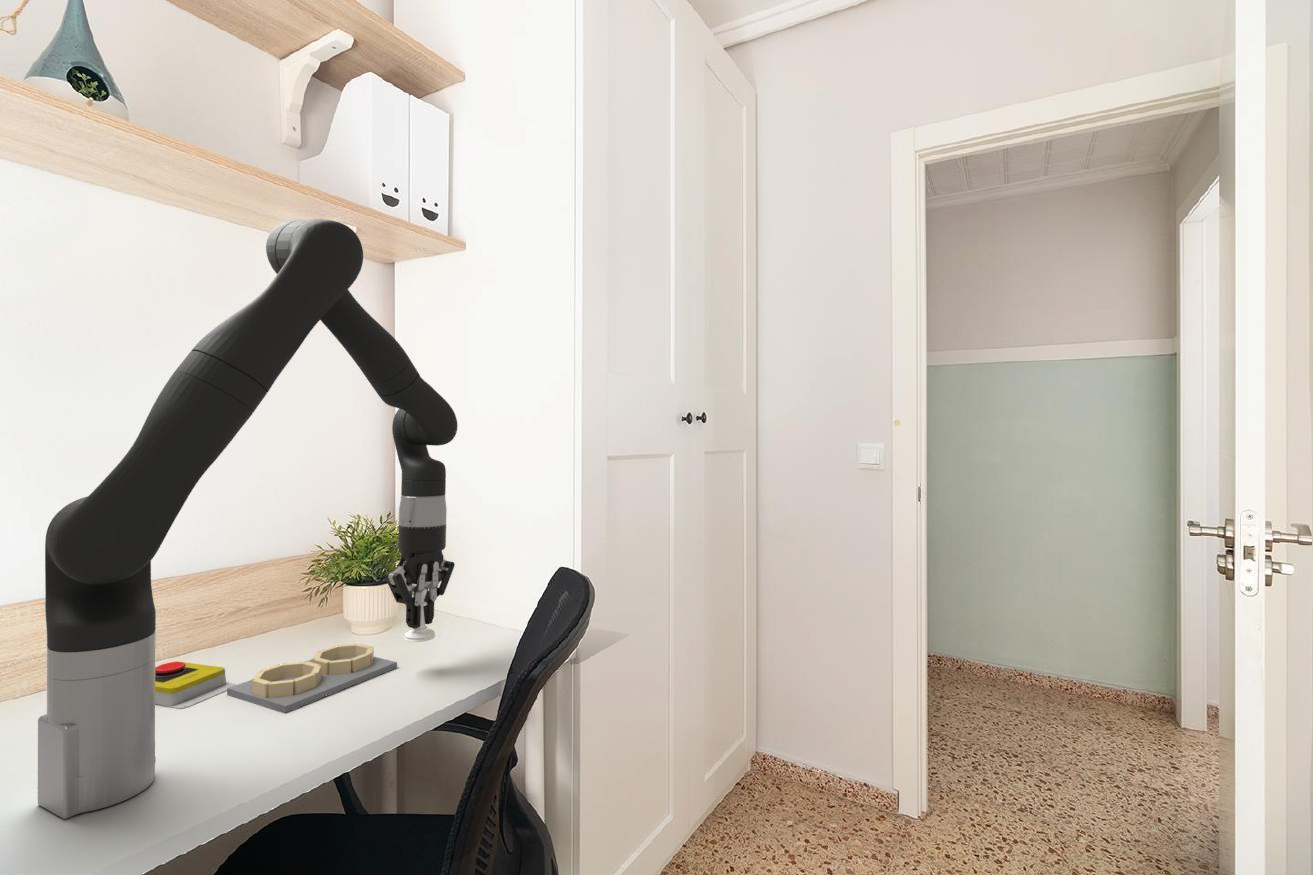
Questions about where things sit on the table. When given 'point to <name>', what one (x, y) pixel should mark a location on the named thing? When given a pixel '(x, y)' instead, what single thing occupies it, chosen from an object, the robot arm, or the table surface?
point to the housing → (312, 677)
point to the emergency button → (188, 684)
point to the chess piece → (420, 632)
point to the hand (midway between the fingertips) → (420, 624)
